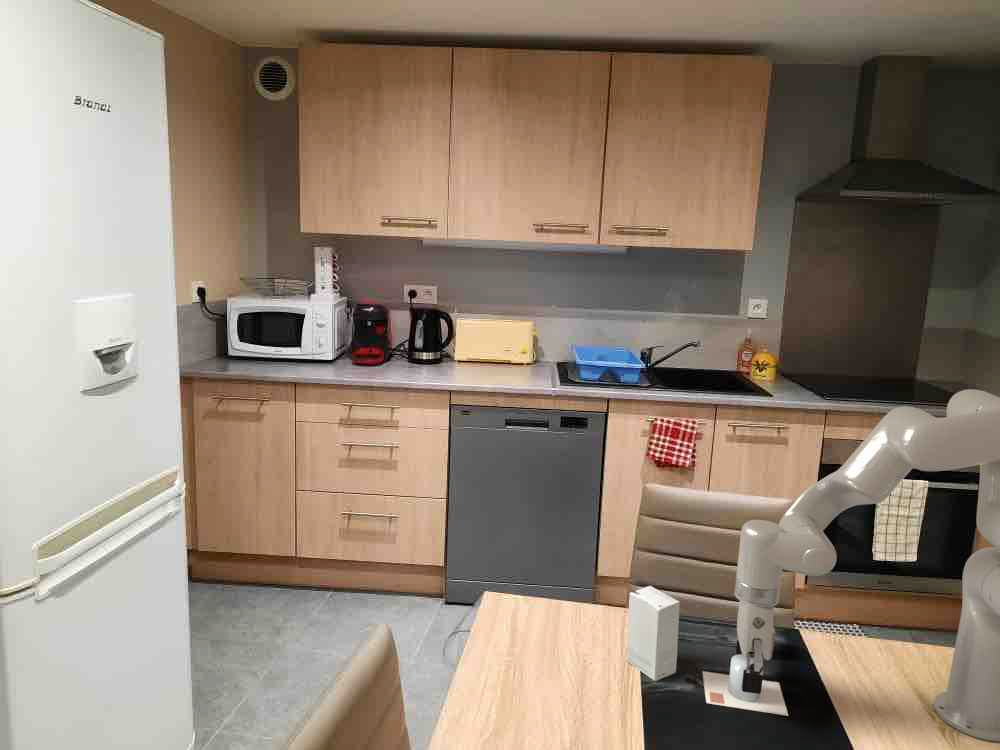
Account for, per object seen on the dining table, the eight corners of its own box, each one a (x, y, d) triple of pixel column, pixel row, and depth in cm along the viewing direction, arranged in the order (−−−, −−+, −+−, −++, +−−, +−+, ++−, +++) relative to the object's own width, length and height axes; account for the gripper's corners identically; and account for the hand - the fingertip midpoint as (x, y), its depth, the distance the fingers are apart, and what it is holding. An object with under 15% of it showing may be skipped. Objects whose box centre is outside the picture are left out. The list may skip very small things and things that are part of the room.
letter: (778, 683, 142) (778, 682, 142) (788, 716, 132) (788, 715, 132) (702, 672, 144) (702, 671, 144) (706, 703, 135) (706, 702, 135)
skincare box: (676, 674, 143) (683, 602, 140) (653, 683, 140) (660, 610, 137) (645, 652, 150) (651, 583, 147) (622, 660, 147) (628, 590, 144)
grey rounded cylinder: (757, 685, 140) (760, 656, 139) (761, 703, 135) (765, 673, 134) (726, 681, 141) (729, 652, 140) (729, 699, 136) (732, 669, 135)
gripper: (788, 616, 125) (776, 708, 129) (771, 570, 142) (761, 653, 145) (741, 610, 127) (731, 701, 130) (730, 566, 143) (721, 647, 147)
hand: (747, 675), depth 138 cm, fingers open, 9 cm apart
